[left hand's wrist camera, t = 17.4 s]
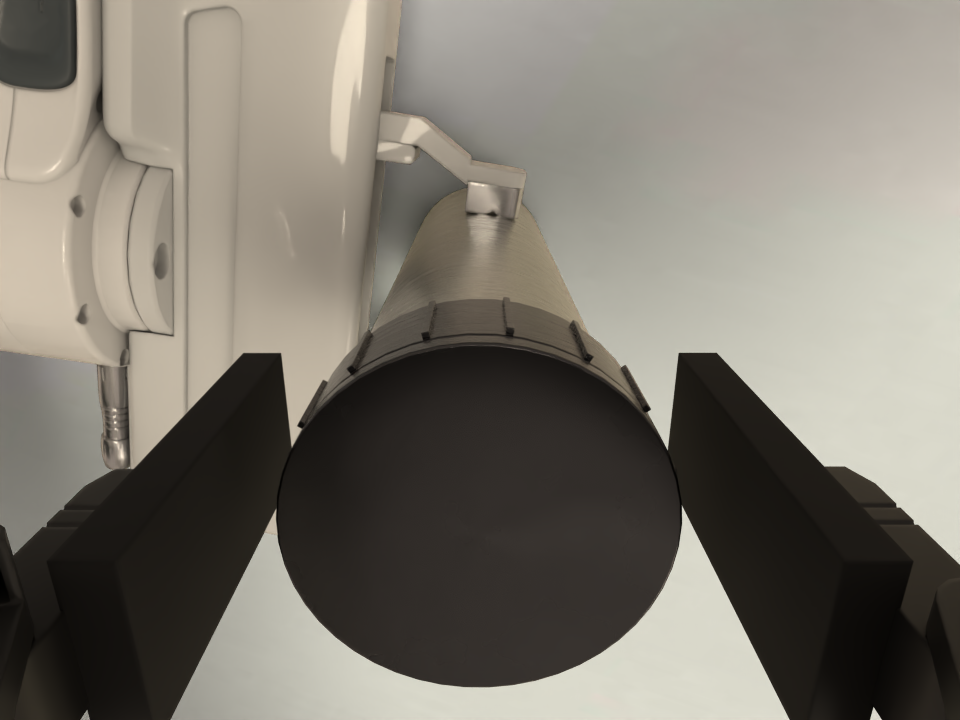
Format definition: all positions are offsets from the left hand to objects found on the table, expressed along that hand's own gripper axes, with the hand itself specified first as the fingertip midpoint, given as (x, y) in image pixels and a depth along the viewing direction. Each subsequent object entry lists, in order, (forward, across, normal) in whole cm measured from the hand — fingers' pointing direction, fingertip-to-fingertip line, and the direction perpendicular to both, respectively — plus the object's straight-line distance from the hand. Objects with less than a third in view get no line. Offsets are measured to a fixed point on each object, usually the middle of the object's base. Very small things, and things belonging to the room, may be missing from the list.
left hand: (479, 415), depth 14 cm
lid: (-4, 0, 0) cm, 4 cm away
